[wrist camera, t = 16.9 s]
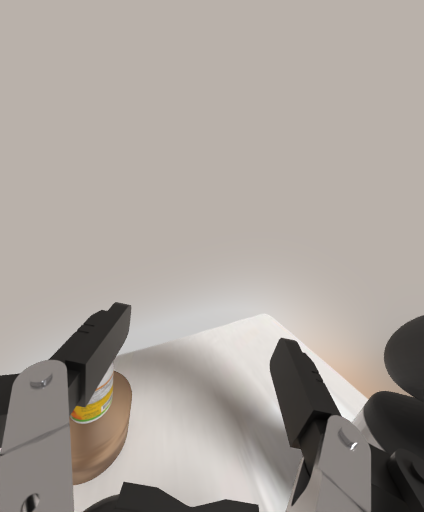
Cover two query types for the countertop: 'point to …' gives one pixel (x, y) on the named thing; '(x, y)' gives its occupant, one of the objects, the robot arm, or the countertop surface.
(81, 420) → the supplement bottle
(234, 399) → the countertop surface
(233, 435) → the countertop surface
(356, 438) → the robot arm
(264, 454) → the countertop surface
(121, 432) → the walnut block
